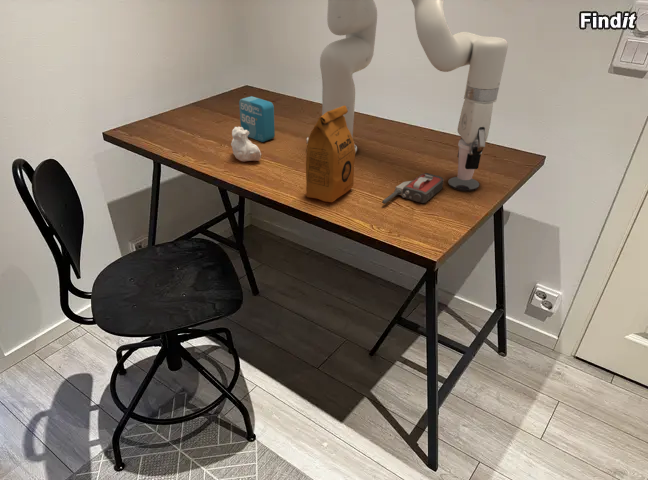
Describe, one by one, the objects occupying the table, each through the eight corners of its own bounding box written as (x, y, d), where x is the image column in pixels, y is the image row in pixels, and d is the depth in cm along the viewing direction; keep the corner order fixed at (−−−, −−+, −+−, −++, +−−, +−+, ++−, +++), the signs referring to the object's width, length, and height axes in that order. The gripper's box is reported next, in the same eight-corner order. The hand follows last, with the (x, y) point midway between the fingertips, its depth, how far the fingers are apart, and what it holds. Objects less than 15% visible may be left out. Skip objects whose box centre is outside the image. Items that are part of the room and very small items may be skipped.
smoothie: (478, 183, 134) (489, 130, 126) (452, 181, 135) (462, 129, 127) (475, 173, 139) (486, 121, 131) (451, 171, 140) (460, 120, 132)
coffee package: (359, 191, 136) (365, 107, 124) (331, 208, 129) (334, 120, 116) (329, 181, 142) (331, 100, 129) (300, 196, 134) (300, 112, 121)
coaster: (452, 191, 135) (452, 189, 135) (444, 178, 142) (444, 176, 141) (482, 191, 135) (483, 189, 135) (473, 178, 142) (474, 176, 141)
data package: (240, 134, 173) (238, 98, 166) (251, 131, 176) (249, 95, 169) (264, 143, 166) (263, 105, 159) (275, 139, 168) (274, 102, 162)
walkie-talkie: (415, 179, 142) (379, 206, 129) (417, 163, 139) (380, 190, 126) (445, 187, 137) (411, 216, 124) (448, 171, 135) (413, 199, 122)
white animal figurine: (233, 160, 160) (212, 138, 151) (247, 141, 161) (227, 118, 152) (257, 172, 153) (237, 149, 144) (272, 151, 153) (253, 128, 144)
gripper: (455, 83, 132) (444, 151, 142) (476, 104, 118) (462, 177, 128) (485, 83, 132) (472, 150, 142) (509, 103, 117) (492, 176, 128)
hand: (467, 162), depth 135 cm, fingers closed on smoothie, 6 cm apart
